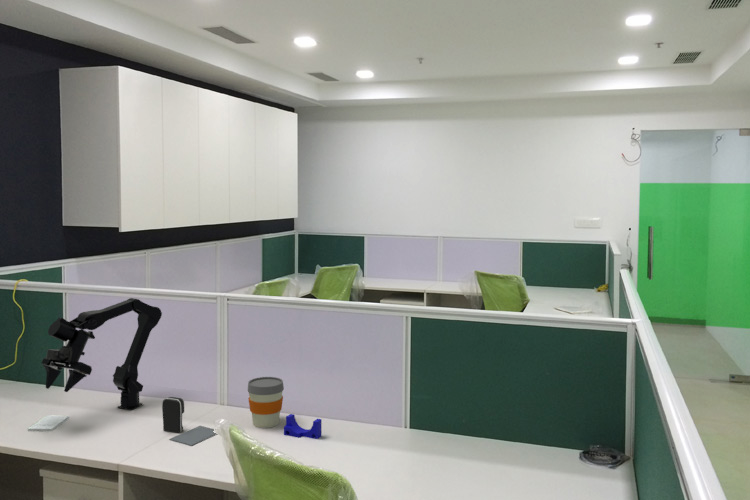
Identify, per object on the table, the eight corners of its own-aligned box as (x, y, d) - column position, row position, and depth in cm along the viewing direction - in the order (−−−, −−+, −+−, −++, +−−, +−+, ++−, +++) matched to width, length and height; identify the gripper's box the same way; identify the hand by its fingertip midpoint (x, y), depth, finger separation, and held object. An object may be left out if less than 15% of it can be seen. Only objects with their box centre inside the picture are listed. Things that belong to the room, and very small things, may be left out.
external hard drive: (69, 419, 236) (51, 433, 224) (46, 419, 237) (27, 432, 224) (68, 415, 236) (51, 428, 224) (46, 415, 236) (27, 428, 224)
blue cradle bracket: (283, 435, 223) (283, 418, 222) (290, 430, 227) (290, 413, 226) (314, 441, 218) (314, 423, 217) (321, 436, 222) (321, 419, 221)
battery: (186, 429, 227) (185, 397, 226) (179, 433, 223) (179, 400, 222) (168, 427, 229) (168, 395, 228) (162, 430, 225) (161, 398, 224)
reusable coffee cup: (272, 431, 225) (271, 389, 224) (240, 426, 230) (240, 384, 228) (290, 419, 237) (290, 379, 235) (260, 414, 241) (259, 374, 240)
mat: (169, 439, 217) (169, 438, 217) (200, 426, 230) (200, 425, 230) (191, 446, 213) (191, 445, 213) (221, 431, 225) (221, 431, 225)
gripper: (39, 335, 227) (18, 379, 221) (76, 340, 219) (56, 386, 213) (63, 347, 236) (44, 389, 230) (100, 352, 228) (82, 396, 222)
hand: (56, 390), depth 223 cm, fingers open, 9 cm apart
